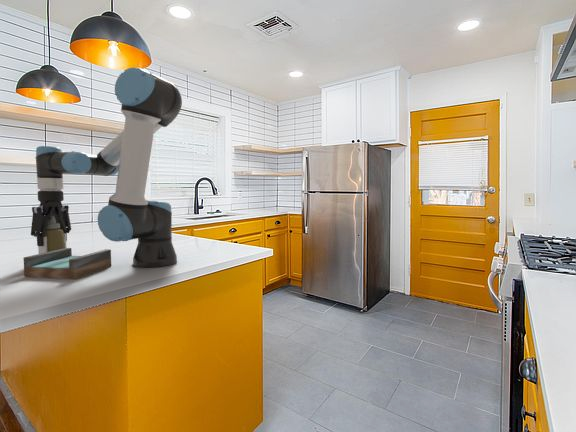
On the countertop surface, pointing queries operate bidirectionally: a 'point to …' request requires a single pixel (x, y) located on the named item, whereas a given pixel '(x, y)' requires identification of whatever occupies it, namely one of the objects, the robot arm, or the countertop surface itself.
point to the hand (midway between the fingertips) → (53, 252)
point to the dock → (65, 264)
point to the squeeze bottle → (54, 236)
